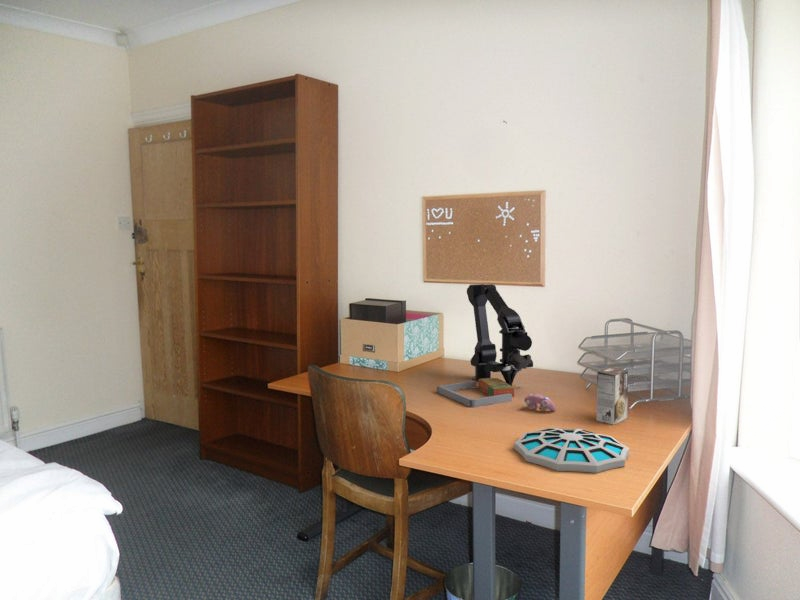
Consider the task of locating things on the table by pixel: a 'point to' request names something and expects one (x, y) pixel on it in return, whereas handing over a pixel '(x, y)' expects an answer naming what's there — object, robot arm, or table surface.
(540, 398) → the video game controller
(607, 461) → the decorative platform
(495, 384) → the carton
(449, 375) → the table surface
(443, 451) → the table surface
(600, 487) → the table surface
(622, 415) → the coffee box
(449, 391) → the display frame
